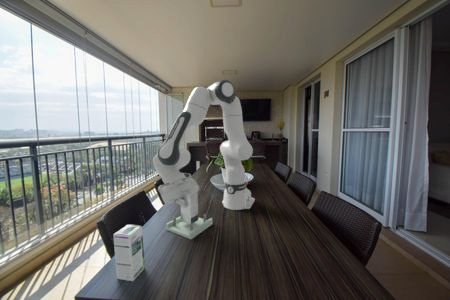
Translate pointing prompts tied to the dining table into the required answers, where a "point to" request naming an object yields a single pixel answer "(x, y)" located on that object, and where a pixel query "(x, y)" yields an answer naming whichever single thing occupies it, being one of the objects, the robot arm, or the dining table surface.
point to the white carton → (189, 206)
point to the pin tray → (188, 226)
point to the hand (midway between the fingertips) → (190, 204)
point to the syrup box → (129, 252)
